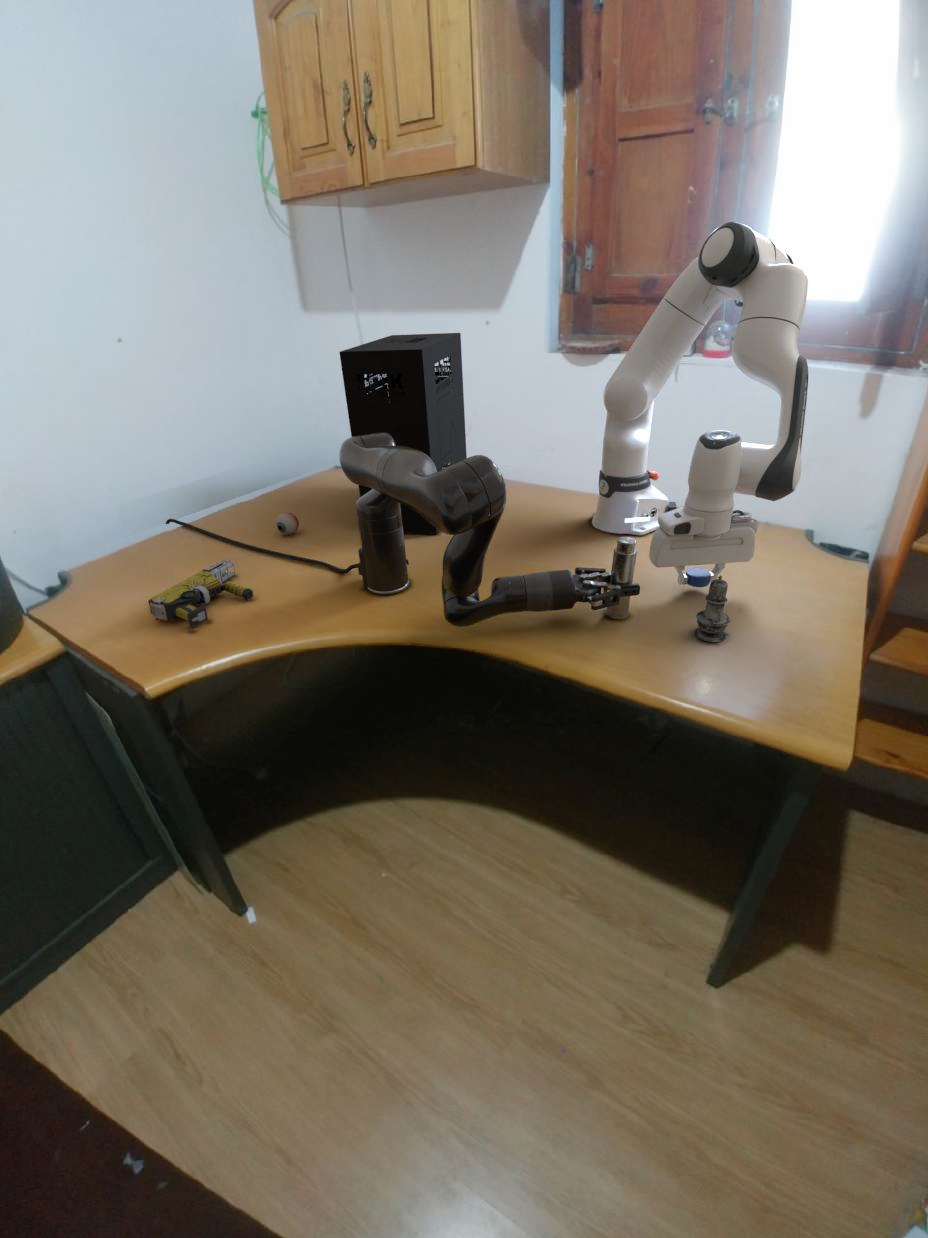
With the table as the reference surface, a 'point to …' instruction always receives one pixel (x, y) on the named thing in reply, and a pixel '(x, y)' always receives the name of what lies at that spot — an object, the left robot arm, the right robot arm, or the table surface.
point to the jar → (622, 574)
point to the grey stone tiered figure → (713, 613)
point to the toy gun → (196, 595)
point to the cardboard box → (409, 400)
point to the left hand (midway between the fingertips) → (634, 583)
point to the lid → (698, 577)
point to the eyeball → (287, 523)
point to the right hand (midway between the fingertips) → (696, 582)
